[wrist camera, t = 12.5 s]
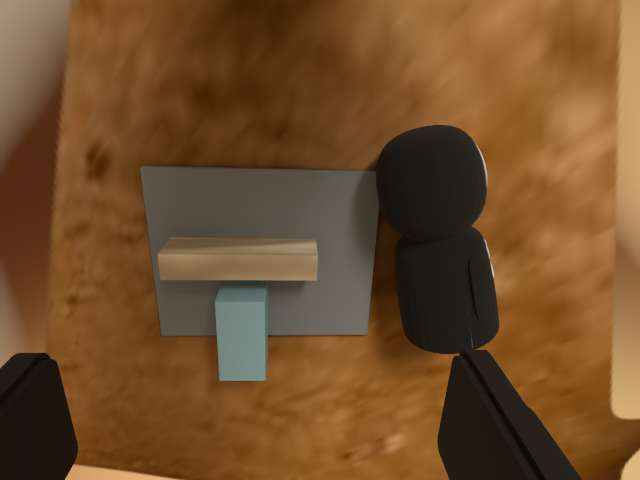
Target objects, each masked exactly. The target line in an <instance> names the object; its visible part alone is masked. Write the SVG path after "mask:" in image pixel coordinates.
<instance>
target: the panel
mask: <svg viewBox="0 0 640 480" xmlns="http://www.w3.org/2000/svg"><path fill="white" fill-rule="evenodd" d="M140 172H141V180H142V188H143V195H144V203H145V211H146V219H147V226H148V234H149V242H150V250H151V257H152V265H153V273H154V281H155V289H156V296H157V304H158V312H159V320H160V327H161V335H162V336H210V335H217V329H216V312H215V300H216V297H217V294H218V291H219V288H220V286H221V283H222V280H161V279H160V271H159V263H158V253H159V252H160V250H161V249H162V248H163V246H164V245H165V244H166V242H167V241H168V240H169V238H170V237H190V238H278V239H316V244H317V252H318V269H317V281H308V280H268V335H367V331H368V320H369V310H370V299H371V288H372V278H373V267H374V256H375V246H376V235H377V224H378V214H379V201H378V196H377V189H376V171H356V170H313V169H269V168H226V167H182V166H141V167H140Z"/></svg>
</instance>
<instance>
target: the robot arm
mask: <svg viewBox="0 0 640 480" xmlns="http://www.w3.org/2000/svg"><path fill="white" fill-rule="evenodd" d="M438 449H439V453H440V456H441V458H442V461H443V464H444V466H445V469H446V471H447V474H448V477H449V479H450V480H582V479H581V478H580V476H579V475H578V473H577V472H576V471H575V469H574V468H573V466H572V465H571V463H570V462H569V461H568V459H567V458H566V456H565V455H564V454H563V452H562V451H561V449H560V448H559V447H558V445H557V444H556V442H555V441H554V439H553V438H552V437H551V435H550V434H549V432H548V431H547V430H546V428H545V427H544V425H543V424H542V423H541V421H540V420H539V418H538V417H537V415H536V414H535V413H534V412H533V411H532V410H531V409H530V408H529V407H527V406H526V404H525V403H524V402H523V400H522V399H521V397H520V396H519V394H518V393H517V392H516V390H515V389H514V387H513V386H512V384H511V383H510V382H509V380H508V379H507V377H506V376H505V374H504V373H503V372H502V370H501V369H500V367H499V366H498V364H497V363H496V361H495V360H494V359H493V357H492V356H491V354H490V353H489V352H488V351H487V350H462V351H461V352H460V355H459V356H455V357H454V358H453V361H452V366H451V371H450V376H449V381H448V386H447V392H446V397H445V402H444V407H443V412H442V418H441V423H440V428H439V433H438ZM77 452H78V445H77V440H76V436H75V432H74V428H73V424H72V420H71V416H70V412H69V408H68V404H67V400H66V396H65V392H64V388H63V384H62V380H61V376H60V372H59V368H58V364H57V362H56V361H55V360H53V359H50V356H49V355H48V354H46V353H18V354H15V355H14V356H13V357H11V358H10V359H9V360H8V361H7V362H6V363H5V364H4V365H3V366H2V367H1V368H0V480H65V478H66V476H67V475H68V473H69V471H70V469H71V468H72V466H73V464H74V462H75V460H76V457H77Z"/></svg>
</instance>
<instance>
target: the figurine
mask: <svg viewBox="0 0 640 480" xmlns="http://www.w3.org/2000/svg"><path fill="white" fill-rule="evenodd" d="M376 189H377V196H378V201H379V206H380V209H381V212H382V214H383V216H384V218H385V219H386V221H387V222H388V223H389V225H390V226H391V227H392V228H393V229H394V230H396V231H397V232H399V233H400V234H402V235H403V236H402V237H401V239H400V240H399V241H398V243H397V245H396V250H395V268H396V280H397V290H398V298H399V305H400V312H401V318H402V324H403V329H404V333H405V335H406V337H407V338H408V339H409V341H410V342H412V343H413V344H414V345H416V346H417V347H419V348H421V349H423V350H427V351H430V352H434V353H441V354H457V353H460V352H461V351H462V350H475V349H477V348H480V347H482V346H484V345H485V344H487V343H489V342H490V341H491V340H492V339H493V338H494V337H495V335H496V334H497V332H498V329H499V316H498V307H497V299H496V292H495V285H494V279H493V277H495V276H494V272H493V267H492V263H491V261H490V259H489V258H490V255H489V251H488V247H487V243H486V241H485V239H484V238H483V236H482V235H481V234H480V232H479V231H478V230H476V229H475V228H473V227H472V226H471V225H472V224H473V223H474V222H475V221H476V220H477V219H478V217H479V215H480V214H481V212H482V210H483V207H484V205H485V201H486V192H487V170H486V165H485V161H484V158H483V156H482V154H481V152H480V150H479V148H478V146H477V145H476V144H475V142H474V141H473V140H472V138H471V137H470V136H469V135H468V134H467V133H466V132H464V131H463V130H461V129H459V128H456V127H452V126H447V125H433V126H426V127H420V128H416V129H413V130H409V131H407V132H404V133H402V134H400V135H398V136H396V137H395V138H393V139H392V140H391V141H390V142H388V143H387V145H386V146H385V147H384V148H383V150H382V152H381V154H380V156H379V160H378V164H377V171H376Z"/></svg>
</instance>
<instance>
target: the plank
mask: <svg viewBox="0 0 640 480" xmlns="http://www.w3.org/2000/svg"><path fill="white" fill-rule="evenodd" d="M158 263H159V271H160V279H161V280H308V281H317V269H318V252H317V244H316V239H278V238H190V237H170V238H169V240H168V241H167V242H166V244H165V245H164V246H163V248H162V249H161V250H160V252H159V253H158Z"/></svg>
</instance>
